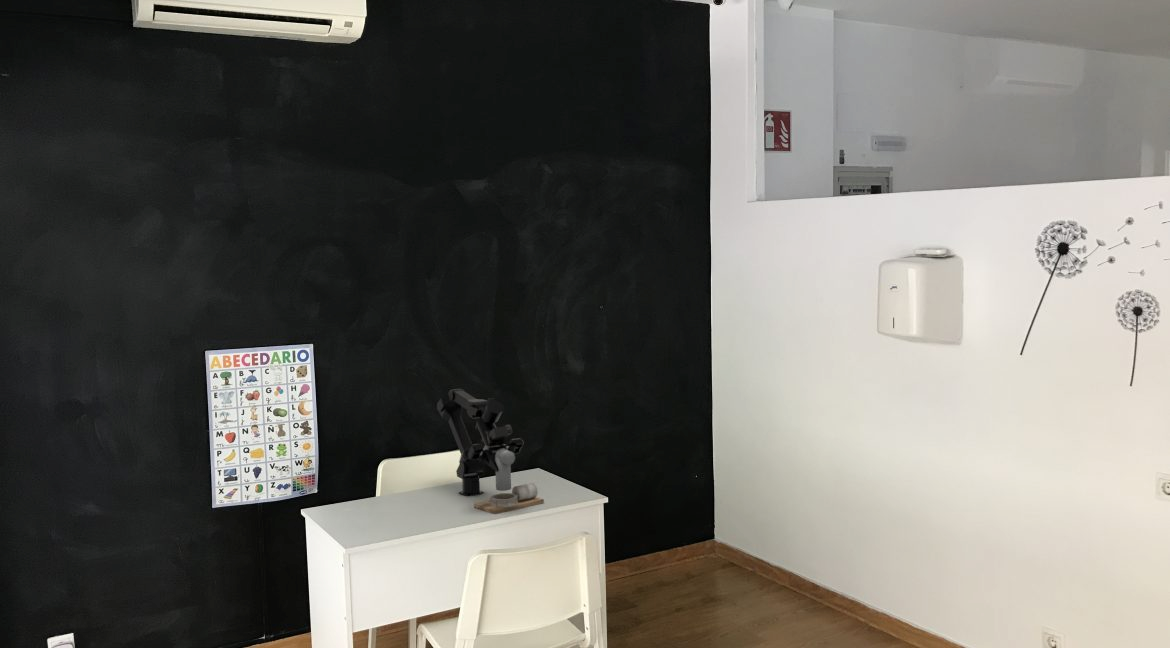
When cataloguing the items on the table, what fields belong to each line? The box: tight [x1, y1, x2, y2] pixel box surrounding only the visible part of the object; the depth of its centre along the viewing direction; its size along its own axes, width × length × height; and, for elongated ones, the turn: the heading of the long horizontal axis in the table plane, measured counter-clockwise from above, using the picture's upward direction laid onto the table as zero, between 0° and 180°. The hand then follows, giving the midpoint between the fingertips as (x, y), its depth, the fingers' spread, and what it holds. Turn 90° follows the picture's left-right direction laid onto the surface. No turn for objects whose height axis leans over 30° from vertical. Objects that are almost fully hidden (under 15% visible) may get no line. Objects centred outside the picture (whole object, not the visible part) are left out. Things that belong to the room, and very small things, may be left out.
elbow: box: [494, 448, 516, 492], centre depth 297 cm, size 7×5×14 cm
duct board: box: [473, 482, 545, 515], centre depth 302 cm, size 12×20×6 cm, turn 130°
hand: (505, 469), depth 297 cm, fingers closed on elbow, 5 cm apart
